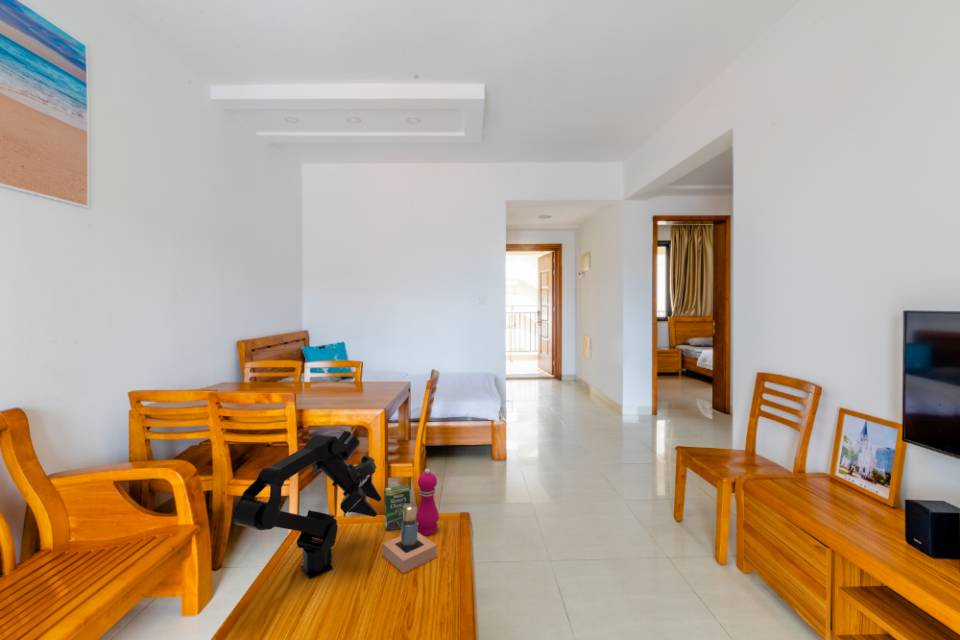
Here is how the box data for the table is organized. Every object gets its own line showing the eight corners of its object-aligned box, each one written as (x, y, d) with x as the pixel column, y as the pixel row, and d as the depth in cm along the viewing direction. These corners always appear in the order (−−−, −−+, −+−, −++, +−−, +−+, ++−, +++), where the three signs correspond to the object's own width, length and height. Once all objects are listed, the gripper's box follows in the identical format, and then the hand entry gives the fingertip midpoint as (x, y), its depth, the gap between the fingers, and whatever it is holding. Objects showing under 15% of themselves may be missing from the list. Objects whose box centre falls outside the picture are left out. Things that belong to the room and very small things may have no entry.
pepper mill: (440, 525, 143) (440, 464, 142) (436, 537, 135) (436, 473, 134) (418, 523, 143) (418, 463, 142) (413, 535, 136) (413, 472, 135)
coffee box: (385, 531, 138) (385, 491, 138) (384, 527, 141) (383, 487, 140) (410, 527, 141) (410, 487, 141) (409, 522, 144) (408, 483, 143)
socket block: (403, 573, 118) (403, 560, 117) (382, 555, 126) (382, 543, 126) (436, 557, 125) (436, 545, 125) (414, 541, 133) (414, 529, 133)
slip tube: (407, 561, 122) (407, 512, 122) (398, 554, 125) (398, 506, 125) (420, 555, 125) (420, 506, 125) (411, 548, 129) (411, 501, 128)
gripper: (352, 463, 115) (395, 502, 117) (364, 440, 134) (401, 474, 136) (322, 493, 115) (365, 532, 117) (338, 466, 134) (375, 500, 135)
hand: (378, 507), depth 126 cm, fingers open, 9 cm apart
